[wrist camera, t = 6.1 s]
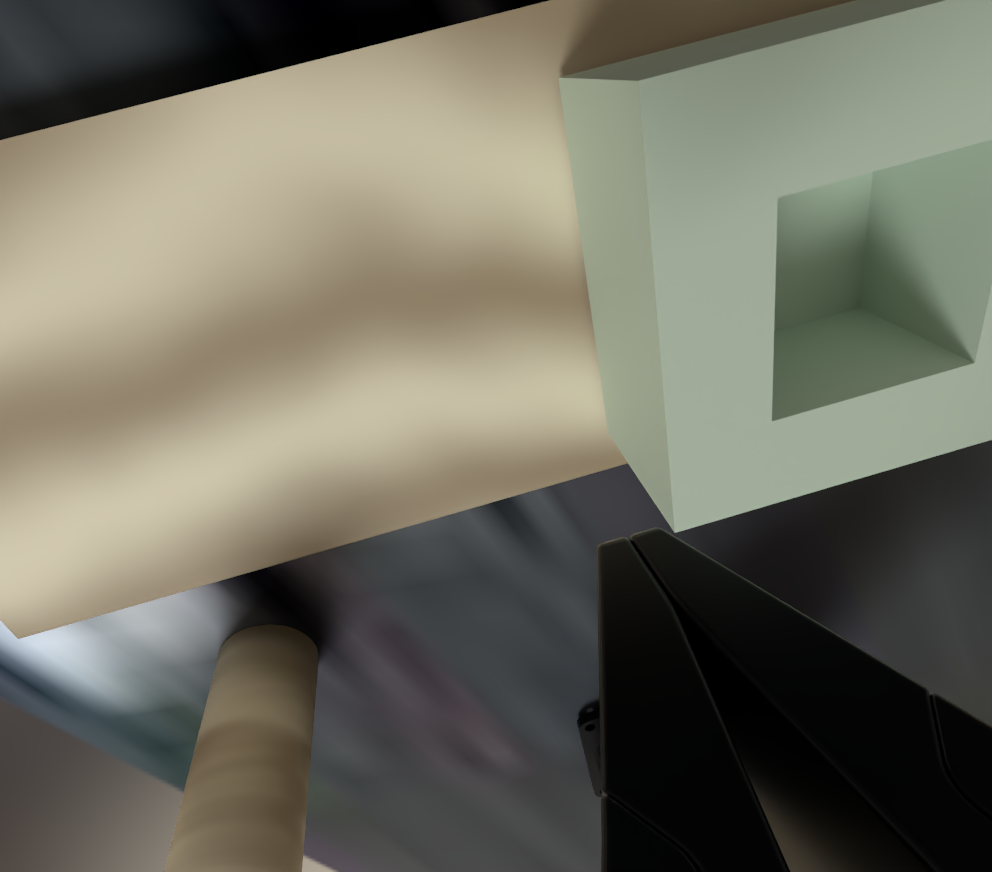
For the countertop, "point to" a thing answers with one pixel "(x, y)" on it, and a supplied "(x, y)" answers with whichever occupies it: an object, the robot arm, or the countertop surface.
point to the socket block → (790, 250)
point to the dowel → (251, 758)
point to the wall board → (303, 306)
